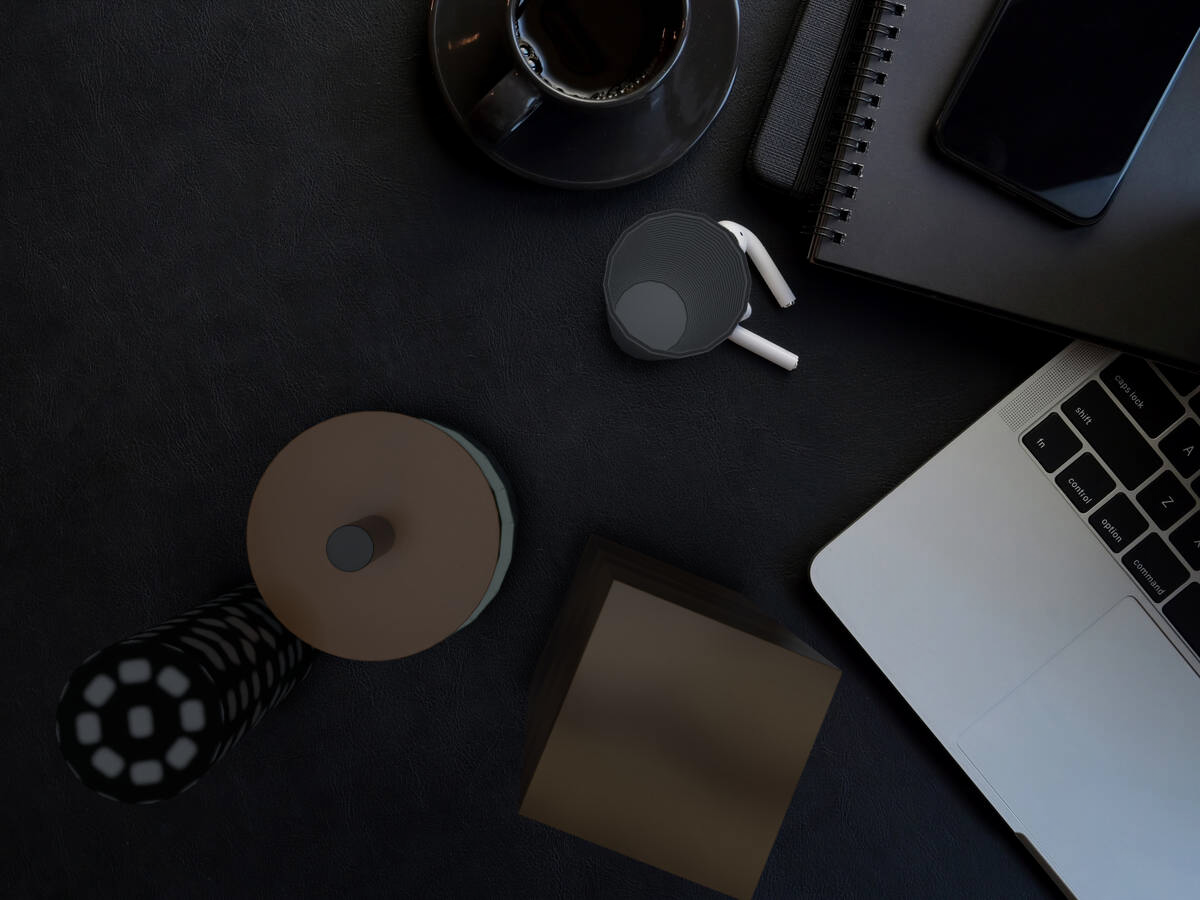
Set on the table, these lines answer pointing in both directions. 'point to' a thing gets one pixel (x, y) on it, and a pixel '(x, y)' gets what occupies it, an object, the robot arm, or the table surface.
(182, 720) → the spotted tube
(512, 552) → the pot
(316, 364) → the table surface
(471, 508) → the lid
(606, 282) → the cup
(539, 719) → the stand
